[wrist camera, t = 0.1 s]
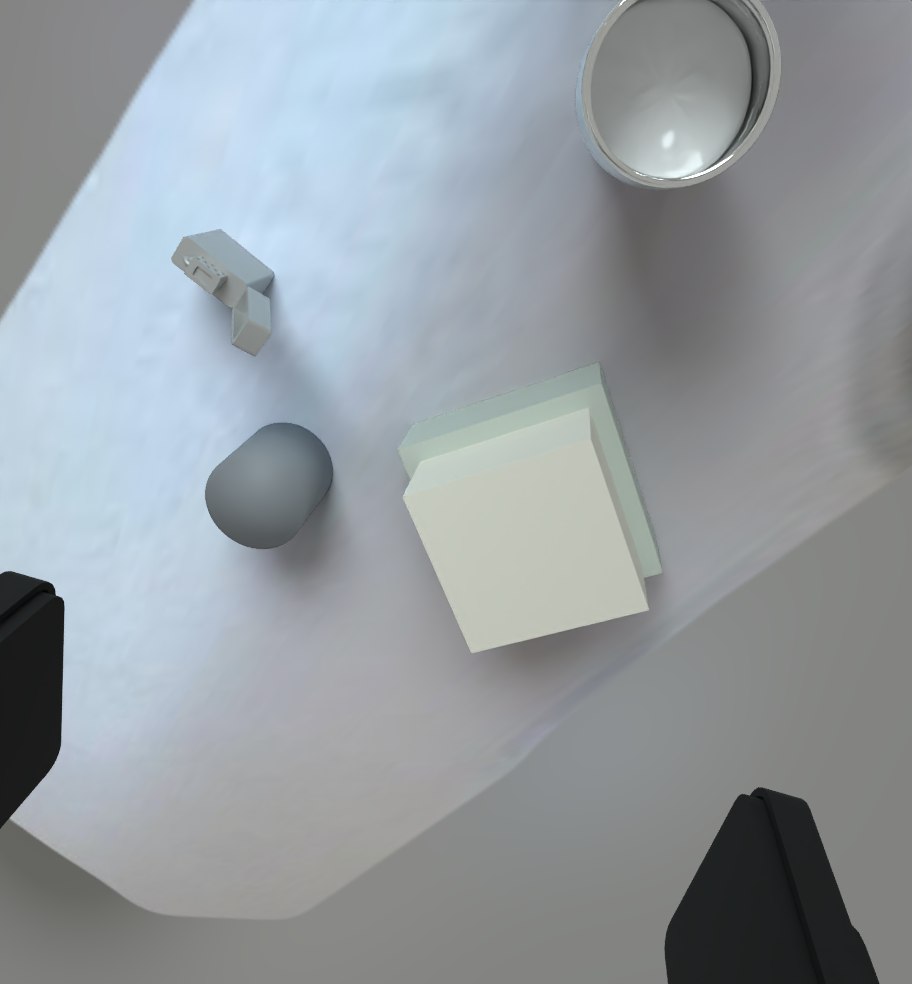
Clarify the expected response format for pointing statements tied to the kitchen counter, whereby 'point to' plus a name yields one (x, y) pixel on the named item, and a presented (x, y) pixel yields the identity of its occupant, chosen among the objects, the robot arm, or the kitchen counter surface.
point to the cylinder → (269, 485)
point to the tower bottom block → (533, 409)
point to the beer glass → (677, 88)
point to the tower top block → (528, 533)
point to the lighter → (230, 283)
